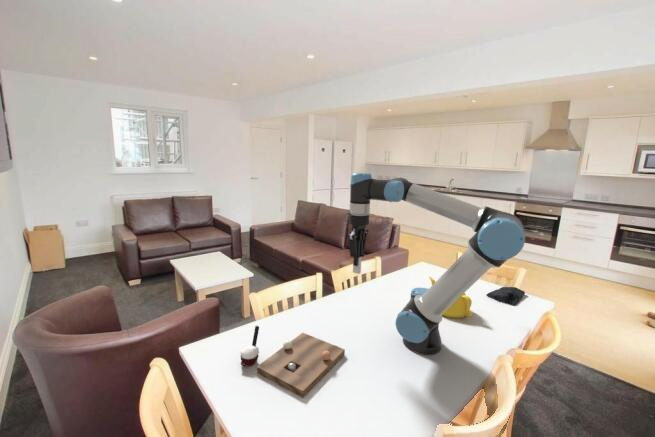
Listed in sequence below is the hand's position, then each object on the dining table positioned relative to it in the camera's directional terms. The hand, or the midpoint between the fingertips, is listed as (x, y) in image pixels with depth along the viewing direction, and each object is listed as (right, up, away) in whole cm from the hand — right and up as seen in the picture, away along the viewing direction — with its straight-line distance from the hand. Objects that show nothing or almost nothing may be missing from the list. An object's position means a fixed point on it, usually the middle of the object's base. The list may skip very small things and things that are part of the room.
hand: (356, 272), depth 123 cm
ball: (-24, -31, -14) cm, 41 cm away
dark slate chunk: (+89, -23, +52) cm, 105 cm away
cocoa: (-40, -31, -10) cm, 51 cm away
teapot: (+49, -25, +34) cm, 64 cm away
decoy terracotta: (-12, -28, -11) cm, 32 cm away
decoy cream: (-27, -26, -5) cm, 38 cm away
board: (-21, -31, -10) cm, 39 cm away
